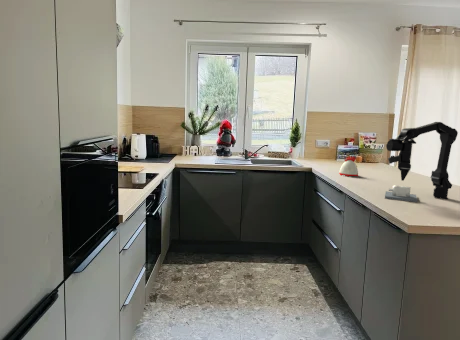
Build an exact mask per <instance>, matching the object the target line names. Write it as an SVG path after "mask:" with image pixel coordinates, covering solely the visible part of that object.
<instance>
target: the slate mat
mask: <svg viewBox="0 0 460 340" xmlns="http://www.w3.org/2000/svg"><path fill="white" fill-rule="evenodd" d="M384 199H388V200H396V201H406V202H412V203H418V197H417V194H412V193H410V197H405V196H396V195H392V191H389V190H388V191H385V193H384Z"/></svg>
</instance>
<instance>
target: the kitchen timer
mask: <svg viewBox="0 0 460 340" xmlns="http://www.w3.org/2000/svg"><path fill="white" fill-rule="evenodd" d="M355 161H356V157H355V156H351V155H348V157H346V159H344V162H343V163H342V164H341V167H340V169H339V171H338V174H340V176H342V175H345V176H344V177H349V176H357V177H359V170H358V166H357V164H356V163H355Z"/></svg>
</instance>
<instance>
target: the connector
mask: <svg viewBox="0 0 460 340" xmlns="http://www.w3.org/2000/svg"><path fill="white" fill-rule="evenodd" d="M411 189H412V188H411V187H409V186H406V185H405V186H404V185H392V188H388V192H392V195H396V196H405V197H410V194H411Z"/></svg>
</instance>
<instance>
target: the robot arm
mask: <svg viewBox="0 0 460 340" xmlns="http://www.w3.org/2000/svg"><path fill="white" fill-rule="evenodd" d="M434 131H435V132H436V133H437V134H438V135H439V141H440V143H441V144H440V148H439V149H440V150H439V154H438V155H439V157H438V161H437V167H436V169H435V170H432V171H431V175H430V180H431V182H432V186H434V188H433V194H432V195H433V197H434V198H435V199H443V200H448V199H449V198H448V194H449V189H450V190H451V189H452V187H453V184H452V183H451V181H450V180H449V178H450V177H449V173H448V165H449V160H450V155H451V150H452V145H453V144H454V143H455V142H456V139H457V137H458V135H459V134H458V133H459V132H458V130H457V129H456V128H453V127H451V126H449V125H447V124H445V123H443V122H441V121H435V122H432V123H428V124H425V125H422V126H421V125H420V126H417V127H408V128H406V127H405V128H402V129H401V130H400V133H399V134H398V135H397V137H396V138H389V140H388V141H387V144H386V150H387V151H389V152H399V153H398V155H390V157H387V160H388V163H389V164H390V165H391V164H393V163H397V169H398V170H399V171H400V178H401V181H403V182H404V180H405V179H406V177H407V176H408V174H409V172H410V171H411V168H412V165H411V159H412V150H413V144H414V145H415V144H417V142H416V141H415V139H416V138H418V137H419V136H420V135H424V134H426V133H430V132H434Z"/></svg>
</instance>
